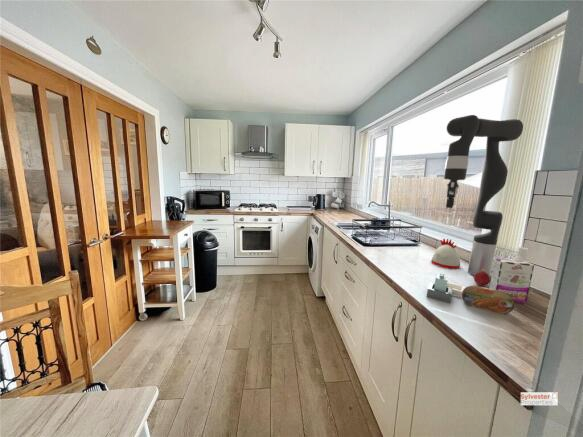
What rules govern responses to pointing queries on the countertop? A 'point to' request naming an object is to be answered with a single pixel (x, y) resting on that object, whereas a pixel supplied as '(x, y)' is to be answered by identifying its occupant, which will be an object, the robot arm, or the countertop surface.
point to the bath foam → (522, 254)
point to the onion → (482, 278)
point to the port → (439, 293)
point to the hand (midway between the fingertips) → (449, 207)
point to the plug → (441, 282)
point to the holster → (456, 289)
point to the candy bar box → (512, 278)
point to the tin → (488, 299)
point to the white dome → (446, 256)
